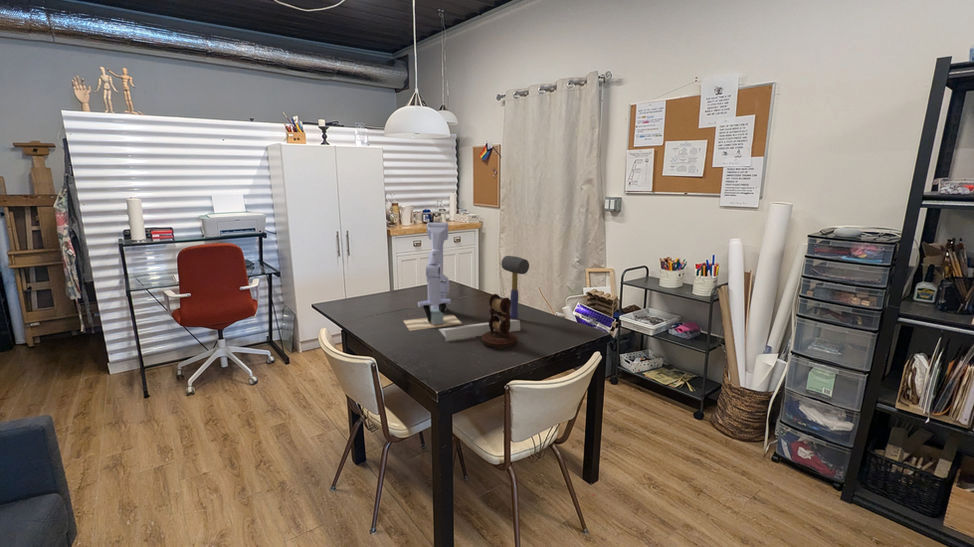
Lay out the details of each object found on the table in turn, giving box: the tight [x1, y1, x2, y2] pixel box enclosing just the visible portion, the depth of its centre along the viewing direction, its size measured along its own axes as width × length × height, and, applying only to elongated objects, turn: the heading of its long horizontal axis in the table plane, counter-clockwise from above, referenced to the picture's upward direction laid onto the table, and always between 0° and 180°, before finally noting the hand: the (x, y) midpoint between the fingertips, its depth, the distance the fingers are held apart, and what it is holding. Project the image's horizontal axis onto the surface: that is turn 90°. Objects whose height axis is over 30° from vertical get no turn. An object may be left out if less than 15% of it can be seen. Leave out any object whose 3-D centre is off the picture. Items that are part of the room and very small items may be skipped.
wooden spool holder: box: [480, 293, 519, 350], centre depth 183 cm, size 15×15×20 cm
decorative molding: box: [438, 319, 522, 342], centre depth 197 cm, size 34×5×10 cm
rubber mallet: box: [500, 255, 530, 320], centre depth 210 cm, size 12×8×30 cm, turn 41°
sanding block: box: [430, 309, 444, 326], centre depth 204 cm, size 8×4×5 cm, turn 27°
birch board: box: [402, 314, 463, 332], centre depth 205 cm, size 14×24×2 cm, turn 111°
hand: (434, 320), depth 205 cm, fingers closed on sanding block, 5 cm apart
